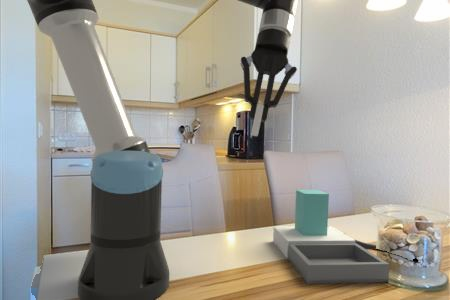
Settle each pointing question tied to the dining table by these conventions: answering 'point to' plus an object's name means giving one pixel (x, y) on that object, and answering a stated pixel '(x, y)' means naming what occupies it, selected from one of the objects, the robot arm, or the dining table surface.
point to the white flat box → (306, 237)
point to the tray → (337, 263)
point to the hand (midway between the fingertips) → (254, 134)
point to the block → (311, 212)
